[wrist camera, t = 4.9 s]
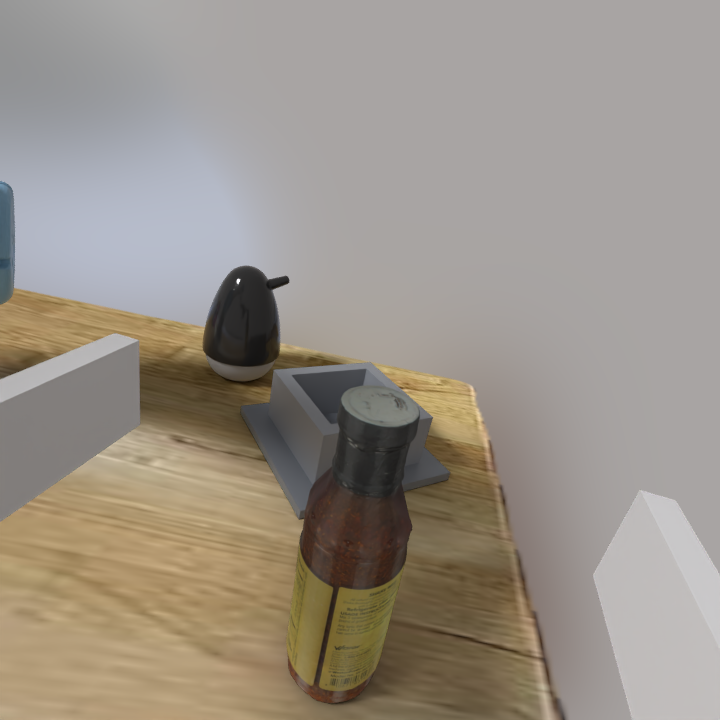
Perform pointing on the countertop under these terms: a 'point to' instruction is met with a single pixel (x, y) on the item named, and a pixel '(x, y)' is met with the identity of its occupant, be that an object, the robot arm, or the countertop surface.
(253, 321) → the pump dispenser
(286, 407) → the bottle holder
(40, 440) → the robot arm
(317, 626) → the sauce bottle
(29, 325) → the countertop surface
